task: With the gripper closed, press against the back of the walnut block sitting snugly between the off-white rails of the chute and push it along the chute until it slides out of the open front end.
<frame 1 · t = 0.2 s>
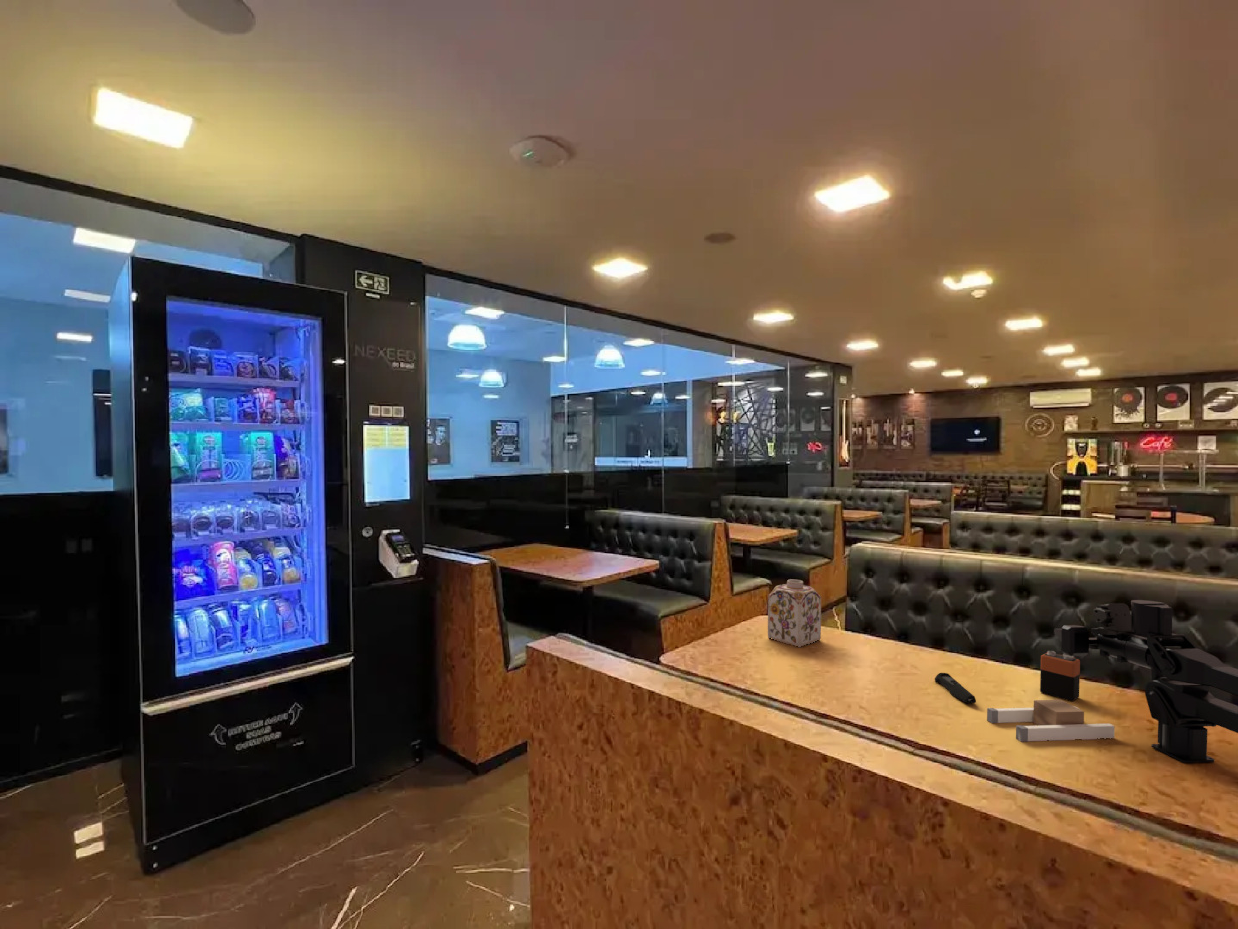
hand: (1073, 630, 142), 16 cm above the table, tool horizontal, fingers open, 9 cm apart
decorative jar: (793, 640, 187), on the table
walnut block: (1057, 729, 127), on the table
battery: (1059, 696, 146), on the table
electric trimmer: (955, 694, 146), on the table
chute: (1048, 729, 127), on the table
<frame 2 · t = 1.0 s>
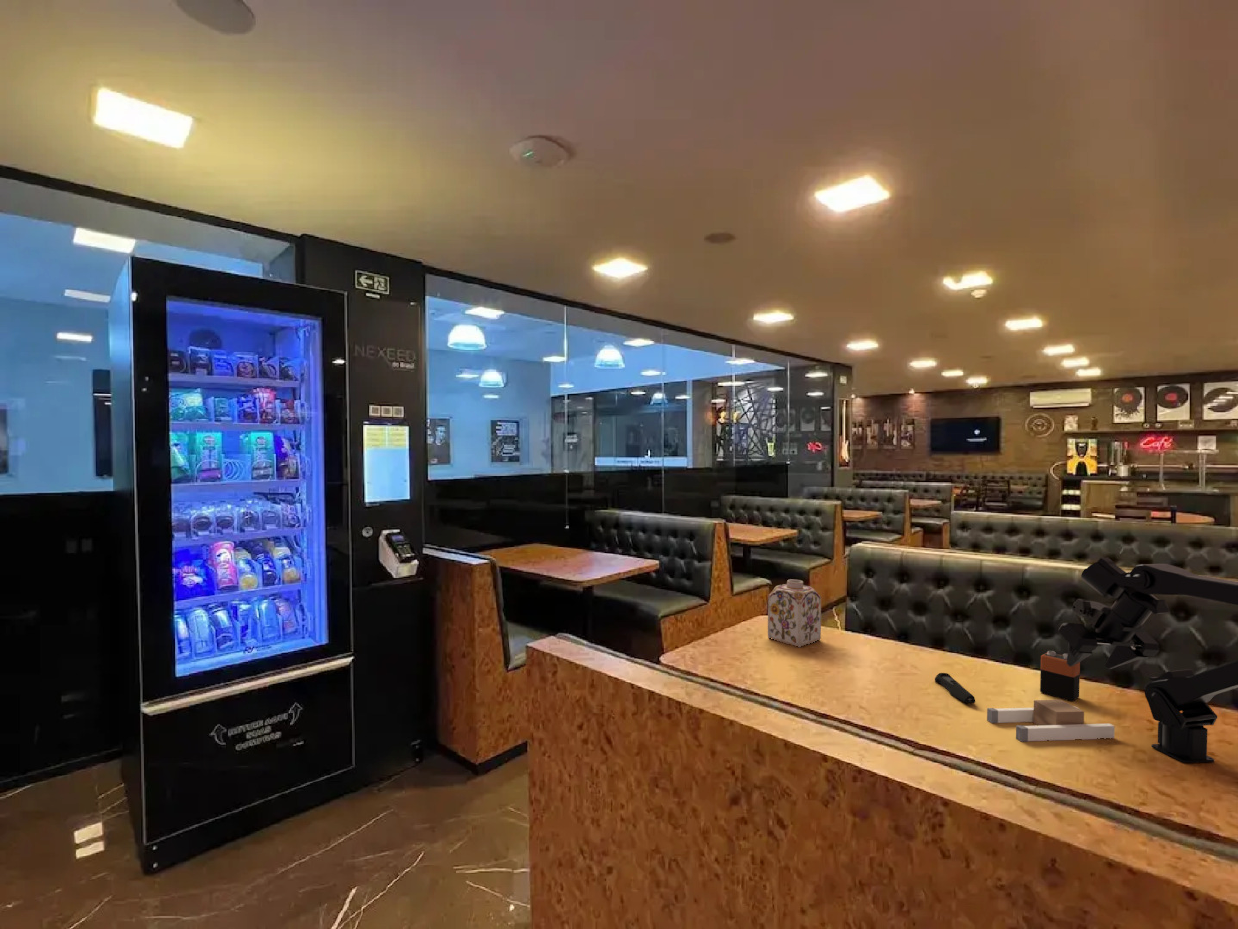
hand: (1087, 666, 134), 11 cm above the table, tool tilted 30°, fingers open, 9 cm apart
nothing on the table moved.
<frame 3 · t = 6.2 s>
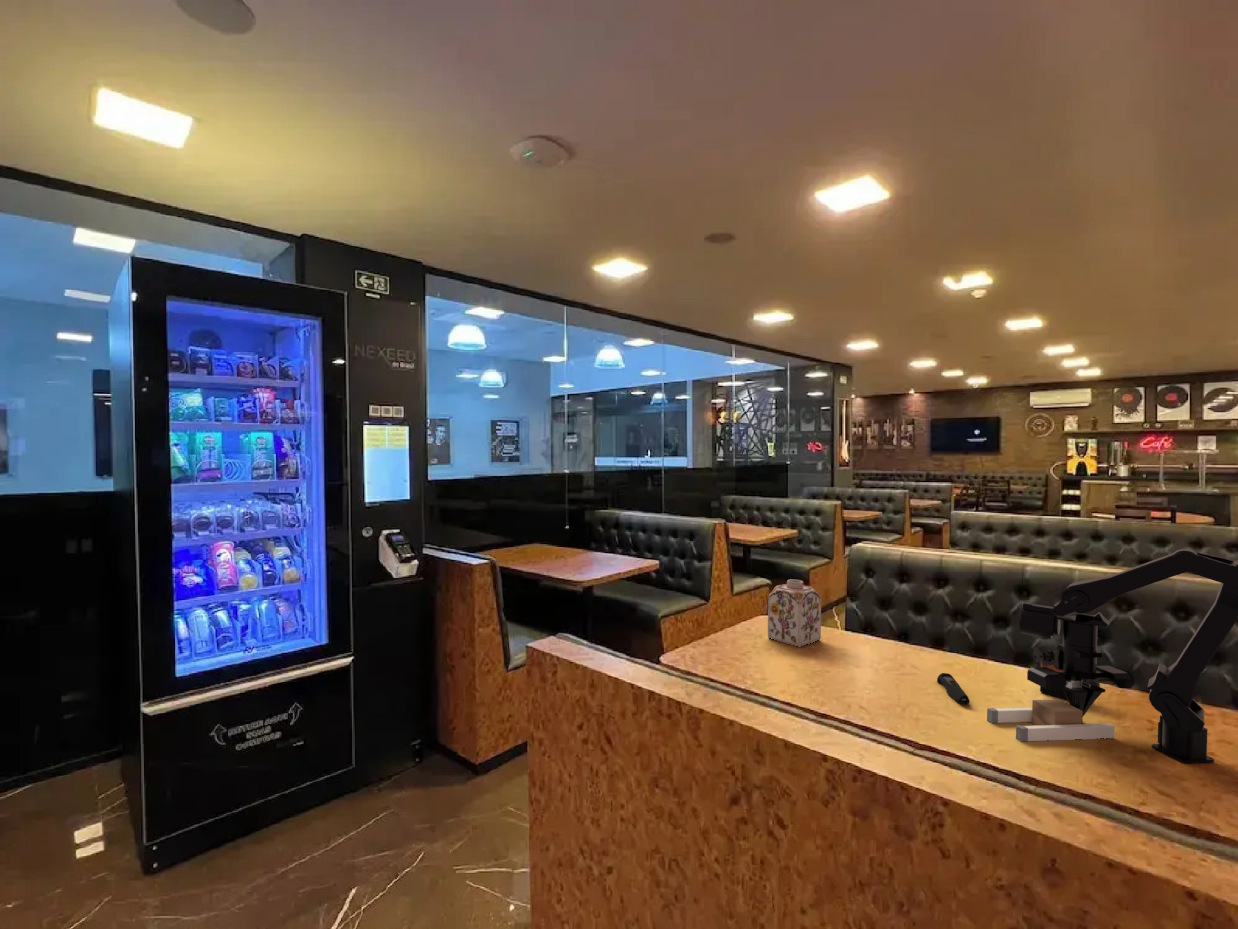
hand: (1077, 718, 128), 2 cm above the table, tool pointing down, fingers closed
walnut block: (1056, 729, 127), on the table, touching gripper
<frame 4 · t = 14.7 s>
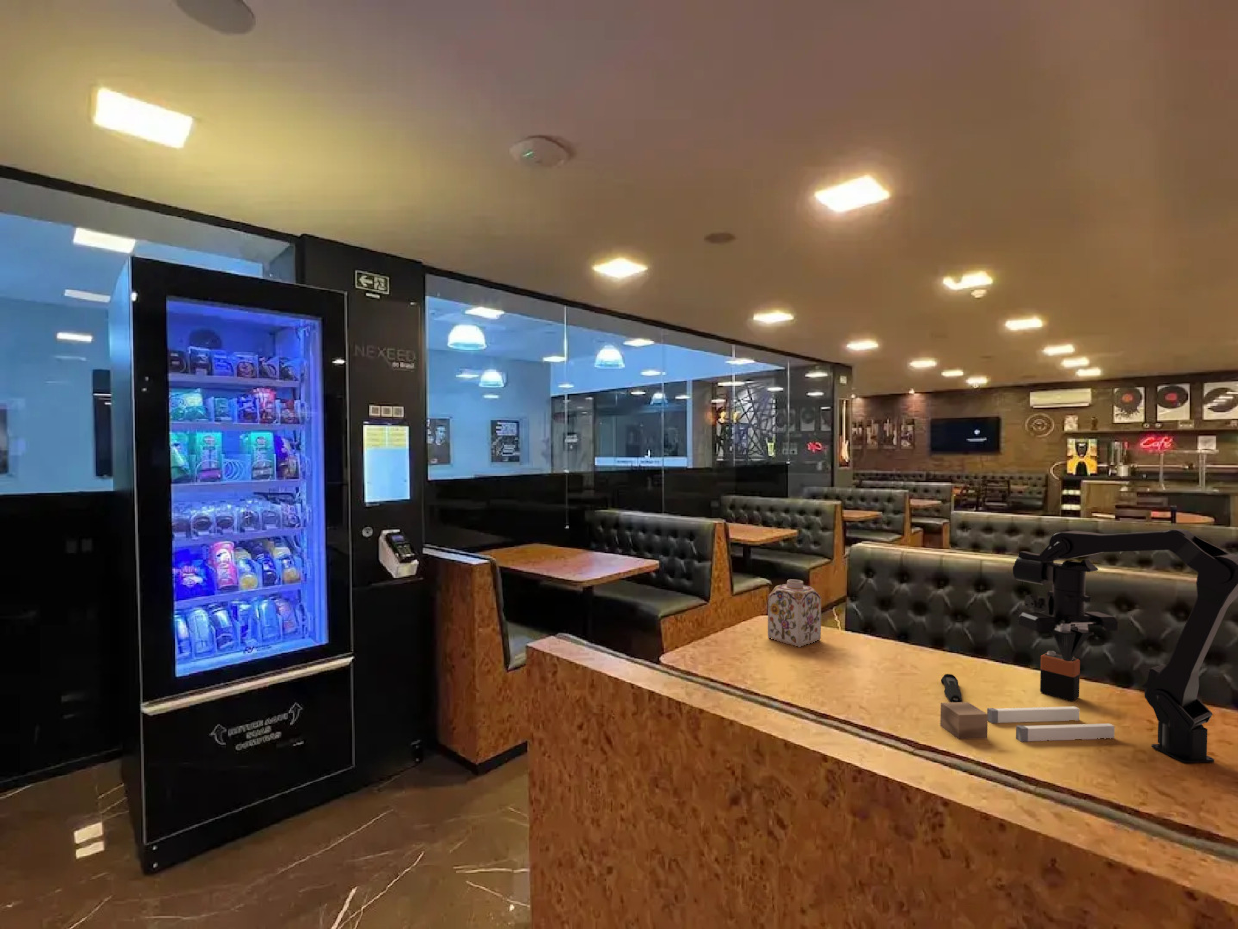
hand: (1066, 660, 134), 12 cm above the table, tool pointing down, fingers closed
walnut block: (963, 732, 125), on the table
at the end: walnut block inside the target area (2.5 cm from its centre), on the table; walnut block moved 20.7 cm from its start; walnut block tilted 0° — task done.
